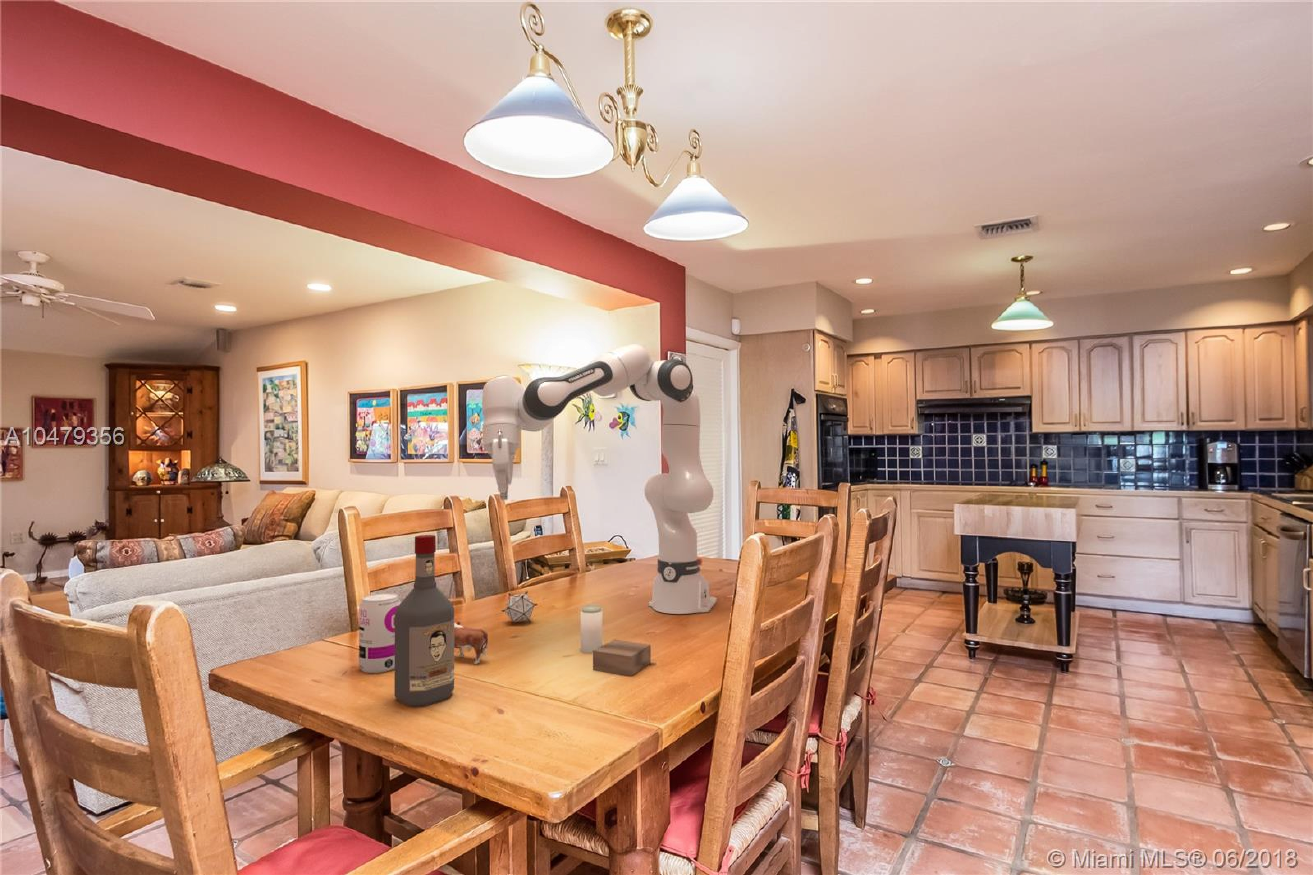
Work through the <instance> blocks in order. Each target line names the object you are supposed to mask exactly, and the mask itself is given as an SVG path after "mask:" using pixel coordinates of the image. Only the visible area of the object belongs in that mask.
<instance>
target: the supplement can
mask: <svg viewBox="0 0 1313 875" xmlns="http://www.w3.org/2000/svg"><path fill="white" fill-rule="evenodd" d="M401 602H402V601H401V600H400V598H399V595H398V594H397V593H390V592H387V593H385V592H384V593H373V594H369V595H364V597H362V599H361V601H360V603H359V605H358V606H359V609H358V613H359V614H358V615H359V617H358V619H359V620H358V623H359V624H358V629H359V630H358V668H359V669H360V670H361V672H363V673H366V674H367V673H368V674H380V673H387V672H390V671H393V670H395V612H396V609H397V607H398V606H399V605H400V603H401Z"/></svg>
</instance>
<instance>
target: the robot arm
mask: <svg viewBox="0 0 1313 875" xmlns="http://www.w3.org/2000/svg"><path fill="white" fill-rule="evenodd" d="M650 355H651V354H649V352H648V350H647V349H646V348H645V347H644V346H642V345H640V344H637V343H632V344H627V345H623V346H620V347H617V348H615V349H612V350H609V351H607V352H605V353H603V354H601V355H598V357H596V358H594V359H593V360H591V361H590V362H589V363H587V364H586V365H585V366H582V367H581V368H578V369H575V370H573V371H571V372H568V373H565V374H564V375H560V376H551V377H550V376H549V377H547V376H546V377H545V376H544V377H538V378H535V379H533V380H532V381H530V383H529V384H528V385H527V386H524V385H523V384H521V383H519V381H517V380H516V379H515V378H514V377H513V376H510V375H498V376H495V377H493V378H490V379H489V380H488V381H486V383H485V384H484V386H483V389H482V398H481V401H482V402H481V411H482V416H483V424H482V448H483V449H484V450H486V451H487V452H488V453H487V454H488V455H489V456H490V457H491V459H492V460H491V461H492V469H493V473H494V477H495V482H496V485H497V491H498V492H499V496H500V498H499V499H500V501H508V499H509V494H508V493H509V486H510V485H512V483H513V482H512V481H513V471H514V459H515V456H516V455H517V454H516V453H517V451H518V449H519V448H520V447H521V439H520V438H521V434H520V433H521V431H525V432H527V431H528V432H540V431H542V430H544V429H545V428H547V427H548V426H549V425H550V424H551V422H552V421H554V419H555V418H557V416H559V415H560V414H561V413H562V412H563V411H564V410H565V409H566V407H567V406H568V404H569V402H571V401H572V400H575V399H577V398H580V397H581V396H584V395H586V394H588V393H589V392H593V393H594V394H596V395H598V396H600V397H608V396H611V395H614V394H617V393H619V392H621V391H623V390H626V389H627V388H629V389H630V392H631V393H632V394H633V396H635V397H636V398H637V399H639V400H641V401H645V402H652V401H653V402H655V401H659V402H660V403H661V406H662V409H663V410H662V411H663V416H662V426H661V442H660V443H661V446H660V451H661V454H662V455H663V457H664V458H665V459H666V462H667V466H668V470H669V473H668V472H665V473H663V472H662V473H660V474H656V475H654V476H651V477H650V478H649V479H648V480H647V481H646V484H645V486H644V497H645V499H646V501H647V503H648V504H649V505H650V506H651V509H652V511H653V514H654V515H653V516H654V519H655V522H656V527H657V532H658V559H657V564H656V567H657V573H658V574H657V575H656V576H655V577H654V578H653V583H652V586H653V587H652V598H651V600H650V601H649V602H648V606H649V607H650V608H653V610H654V611H656V612H659V613H664V614H672V615H673V614H674V615H686V614H694V613H695V614H697V613H708V612H710V611H711V610H712V608H713V607H714V606H715V604H716V603H717V601H718V600H717V597H715V596H711V595H710V583H709V581H708V580H707V579H706V578H705V577H704V576H703V574H701V572H700V571H701V566H702V565H703V558H701V557H700V558H698V534H697V531H696V528H694V526H693V525H692V523H691V521H690V518H689V514H694V513H700V512H703V511H705V510H707V509H708V508H709V507H710V506H711V504H712V502H713V500H714V488H713V486H712V484H711V482H710V481H709V480H708V479H707V477H706V475H705V473H704V469H703V466H702V462H701V461H702V460H701V454H700V453H701V452H700V445H701V444H700V442H701V440H700V439H701V409H700V407H701V406H700V401H699V400H700V399H699V397H698V394H697V393H696V392H695V391H693V390H694V383H693V382H694V380H693V375H692V374H693V373H692V370H691V369H690V367H689V366H690V365H688V364H687V363H686V362H684V361H683V360H680V359H675V358H673V359H672V358H670V359H666V360H664V359H663V360H658V361H657V360H656V361H653V360H652V358H651V356H650ZM520 430H521V431H520Z"/></svg>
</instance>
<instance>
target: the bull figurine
mask: <svg viewBox="0 0 1313 875" xmlns="http://www.w3.org/2000/svg"><path fill="white" fill-rule="evenodd" d="M488 635H489V633H488V632H487V631H486V630H484V629H479V628H469V627H466V626H464V625H461V622H460V621H456V622H455V621H454V649H459V654H458V658H463V657H465V654H464V651H463V649H467V652H471V649H474V653H475V655H476V656H475V658H474V660H475V661H474V663H473V665H474V664H475V665H478V664H479V663H480V659H482V656H485V655H486V653H487V650H488V641H489V636H488Z"/></svg>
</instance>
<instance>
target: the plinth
mask: <svg viewBox="0 0 1313 875" xmlns="http://www.w3.org/2000/svg"><path fill="white" fill-rule="evenodd" d="M651 649H652V648H651V644H650V643H648V644H647V643H641V642H636V641H635V642H634V641H628V640H621V639H615V638H614V639H612V640H610V641H609V642H607V643H605V644H602V646H601V647H599V648H597V649H595V650H593V653H592V670H593V671H598V672H603V673H609V674H615V675H621V676H626V677H632V676H633V675H635V674H637V673H638V672H639V671H641V670H643V669H644V668H646V667H647V666H649V665H651V660H652V659H651V658H652V657H651V655H652V654H651V653H652V652H651Z"/></svg>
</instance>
